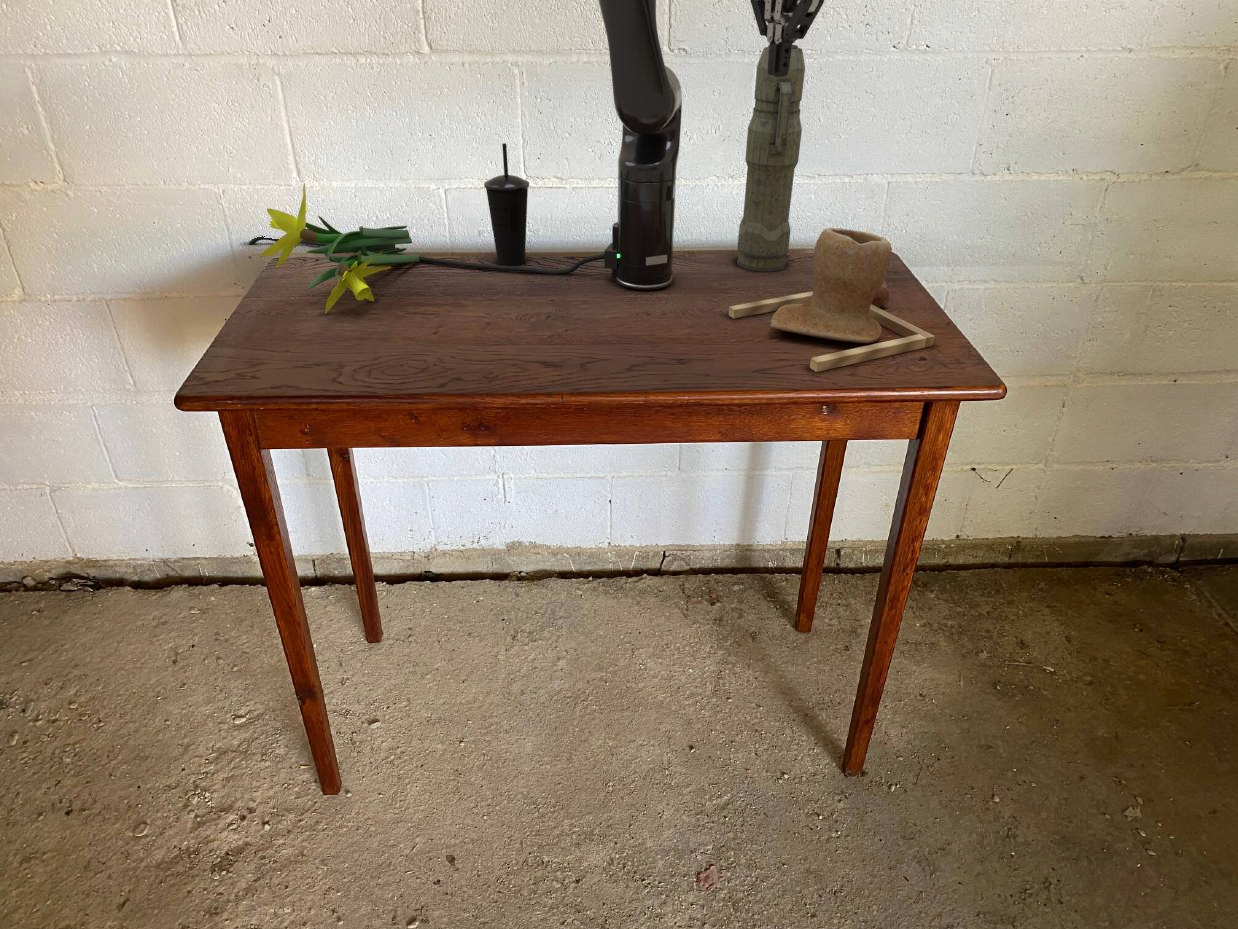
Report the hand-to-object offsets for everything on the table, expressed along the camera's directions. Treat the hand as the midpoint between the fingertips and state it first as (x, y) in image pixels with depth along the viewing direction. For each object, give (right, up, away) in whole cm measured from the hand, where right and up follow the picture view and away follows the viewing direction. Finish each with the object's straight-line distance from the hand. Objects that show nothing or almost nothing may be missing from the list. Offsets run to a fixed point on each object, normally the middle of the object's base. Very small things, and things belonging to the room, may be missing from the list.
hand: (777, 75), depth 107 cm
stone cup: (+10, -31, +16) cm, 36 cm away
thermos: (+5, -14, +42) cm, 45 cm away
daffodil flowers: (-63, -21, +30) cm, 73 cm away
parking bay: (+10, -30, +16) cm, 36 cm away
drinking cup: (-40, -14, +42) cm, 59 cm away
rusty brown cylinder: (+21, -21, +32) cm, 43 cm away
